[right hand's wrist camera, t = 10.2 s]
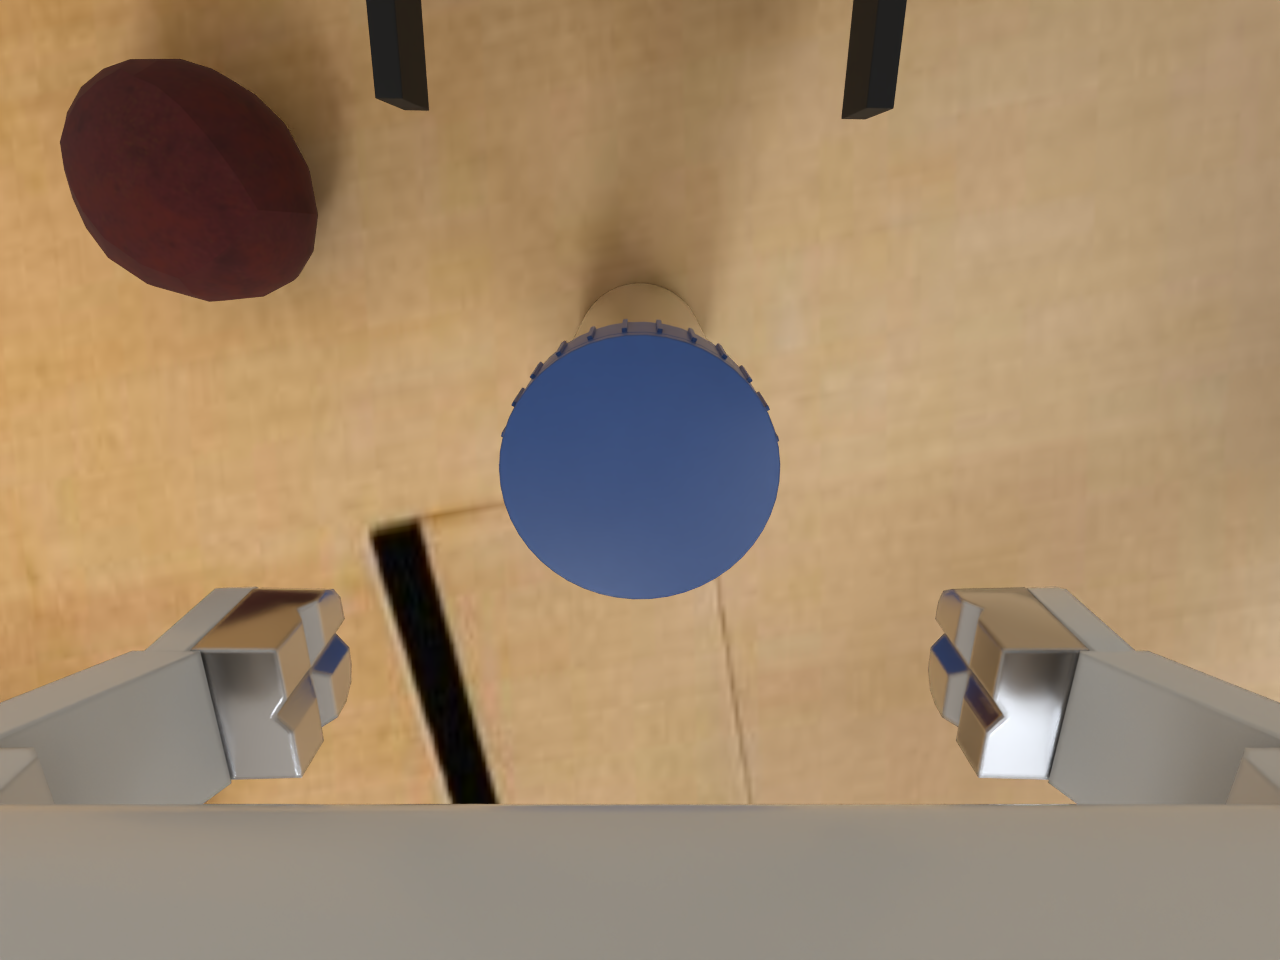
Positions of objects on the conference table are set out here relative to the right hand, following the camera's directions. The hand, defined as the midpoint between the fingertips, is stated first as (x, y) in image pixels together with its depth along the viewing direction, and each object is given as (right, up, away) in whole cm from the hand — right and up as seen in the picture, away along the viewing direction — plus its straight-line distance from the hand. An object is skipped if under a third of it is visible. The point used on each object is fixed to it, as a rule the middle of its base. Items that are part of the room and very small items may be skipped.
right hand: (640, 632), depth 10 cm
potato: (-15, +13, +18) cm, 27 cm away
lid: (0, +2, +6) cm, 6 cm away
